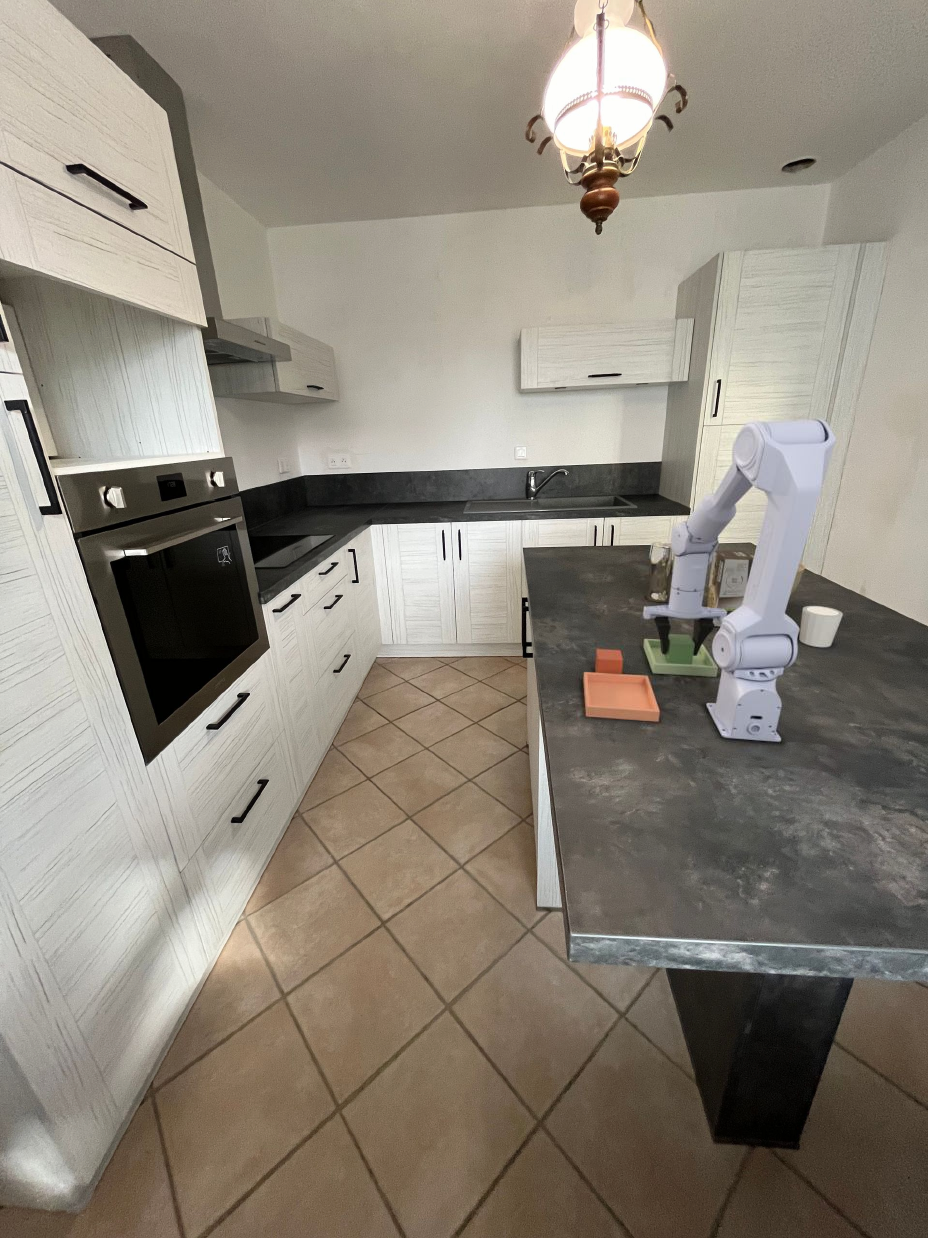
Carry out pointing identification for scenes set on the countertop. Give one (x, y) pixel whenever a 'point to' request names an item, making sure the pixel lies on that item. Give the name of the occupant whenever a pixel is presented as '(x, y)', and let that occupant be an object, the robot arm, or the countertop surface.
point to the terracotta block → (609, 661)
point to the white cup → (819, 625)
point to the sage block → (679, 649)
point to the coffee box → (728, 580)
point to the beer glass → (660, 571)
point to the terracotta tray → (620, 697)
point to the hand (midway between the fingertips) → (678, 653)
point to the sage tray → (659, 664)
